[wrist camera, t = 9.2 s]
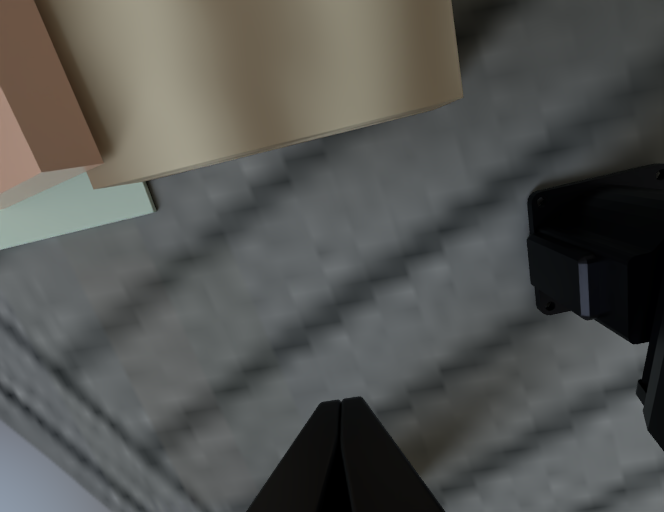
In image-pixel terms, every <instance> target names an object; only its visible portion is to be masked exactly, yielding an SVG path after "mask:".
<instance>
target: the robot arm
mask: <svg viewBox="0 0 664 512" xmlns="http://www.w3.org/2000/svg"><path fill="white" fill-rule="evenodd" d="M658 171H659V172H660V174H659V176H658V178H657V179H656V173H657V172H658ZM540 197H542V198H543V203H542V204H541V205H539V206H538V205H537V200H538V199H539V198H540ZM527 205H528V217H529V228H530V235H529V237H528V239H527V247H528V258H529V269H530V280H531V284H532V285H533V286H534V287H535V296H536V306H537V308H538V309H539V310H540V311H541V312H542V313H543V314H546V315H553V314H558V313H562V312H567V311H572V312H574V313H575V314H577V315H578V316H580V317H581V318H583V319H585V320H592V319H594V320H596V321H597V322H599V323H600V324H602V325H604V326H605V327H607V328H608V329H610V330H611V331H613V332H615V333H616V334H618V335H619V336H621V337H622V338H624V339H626V340H627V341H629V342H630V343H632V344H640V343H645V342H649V346H648V351H647V356H646V361H645V366H644V371H643V376H642V379H640V380H638V383H637V389H636V395H637V396H638V398H639V399H640V401H641V402H642V404H643V405H644V408H643V414H644V418H645V422H646V426H647V430H648V431H649V433H650V434H651V435H652V437H653V438H654V439H655V440H656V442H657V443H658V444H659V446H660V447H661V448H662V450H663V451H664V164H651V165H647V166H642V167H638V168H634V169H629V170H625V171H621V172H616V173H612V174H608V175H603V176H599V177H595V178H590V179H586V180H582V181H577V182H573V183H569V184H564V185H560V186H556V187H551V188H547V189H543V190H538V191H535V192H533V193H532V194H531V195H530V196H529V198H528V202H527ZM548 302H551V304H550V306H549V307H546V308H545V306H546V304H547V303H548ZM246 512H445V510H444V509H443V508H442V506H441V505H440V503H439V502H438V501H437V499H436V498H435V497H434V495H433V494H432V492H431V491H430V490H429V488H428V487H427V486H426V484H425V483H424V481H423V480H422V479H421V477H420V476H419V475H418V473H417V472H416V470H415V469H414V468H413V466H412V465H411V464H410V462H409V461H408V459H407V458H406V457H405V455H404V454H403V453H402V451H401V450H400V448H399V447H398V446H397V444H396V443H395V442H394V440H393V439H392V437H391V436H390V435H389V433H388V432H387V431H386V429H385V428H384V426H383V425H382V424H381V422H380V421H379V420H378V418H377V417H376V415H375V414H374V413H373V411H372V410H371V409H370V407H369V406H368V404H367V403H366V402H365V400H364V399H363V398H362V397H352V398H346V399H343V400H342V402H341V401H340V400H332V401H325V402H321V403H320V404H319V405H318V407H317V408H316V410H315V411H314V413H313V414H312V416H311V417H310V418H309V420H308V421H307V423H306V424H305V426H304V427H303V429H302V430H301V432H300V433H299V435H298V436H297V438H296V439H295V441H294V442H293V443H292V445H291V446H290V448H289V449H288V451H287V452H286V454H285V455H284V457H283V458H282V460H281V461H280V463H279V464H278V466H277V467H276V468H275V470H274V471H273V473H272V474H271V476H270V477H269V479H268V480H267V482H266V483H265V485H264V486H263V488H262V489H261V491H260V492H259V493H258V495H257V496H256V498H255V499H254V501H253V502H252V504H251V505H250V507H249V508H248V510H247V511H246Z"/></svg>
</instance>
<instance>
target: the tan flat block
mask: <svg viewBox="0 0 664 512" xmlns="http://www.w3.org/2000/svg"><path fill="white" fill-rule="evenodd" d="M34 2H35V4H36V6H37V9H38V11H39V13H40V16H41V18H42V20H43V23H44V25H45V27H46V30H47V32H48V34H49V37H50V39H51V41H52V44H53V46H54V48H55V51H56V53H57V55H58V58H59V60H60V62H61V65H62V67H63V69H64V72H65V74H66V76H67V79H68V81H69V83H70V85H71V88H72V90H73V92H74V95H75V97H76V99H77V102H78V104H79V106H80V109H81V111H82V113H83V116H84V118H85V120H86V123H87V125H88V127H89V130H90V132H91V134H92V137H93V139H94V141H95V144H96V146H97V148H98V151H99V153H100V155H101V158H102V160H103V162H104V163H103V164H101V165H99V166H97V167H95V168H93V169H90V170H88V171H86V172H87V175H88V177H89V180H90V182H91V185H92V187H93V190H94V189H100V188H107V187H113V186H119V185H126V184H132V183H139V182H145V181H149V180H153V179H157V178H161V177H165V176H169V175H173V174H177V173H181V172H185V171H189V170H193V169H198V168H202V167H206V166H210V165H214V164H218V163H222V162H226V161H230V160H234V159H238V158H242V157H246V156H250V155H254V154H258V153H262V152H266V151H270V150H274V149H278V148H282V147H286V146H290V145H294V144H298V143H302V142H306V141H310V140H314V139H318V138H322V137H327V136H331V135H335V134H339V133H343V132H347V131H351V130H355V129H359V128H363V127H367V126H371V125H375V124H379V123H383V122H387V121H391V120H395V119H399V118H403V117H407V116H411V115H415V114H419V113H423V112H427V111H431V110H434V109H437V108H439V107H442V106H444V105H447V104H449V103H451V102H454V101H456V100H459V99H461V98H463V89H462V82H461V74H460V66H459V58H458V50H457V42H456V34H455V26H454V18H453V10H452V2H451V0H34Z"/></svg>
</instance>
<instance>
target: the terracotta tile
mask: <svg viewBox="0 0 664 512" xmlns="http://www.w3.org/2000/svg"><path fill="white" fill-rule="evenodd" d="M103 163H104V162H103V160H102V158H101V155H100V153H99V151H98V148H97V146H96V144H95V141H94V139H93V137H92V134H91V132H90V130H89V127H88V125H87V123H86V120H85V118H84V116H83V113H82V111H81V109H80V106H79V104H78V102H77V99H76V97H75V95H74V92H73V90H72V88H71V85H70V83H69V81H68V79H67V76H66V74H65V72H64V69H63V67H62V65H61V62H60V60H59V58H58V55H57V53H56V51H55V48H54V46H53V44H52V41H51V39H50V37H49V34H48V32H47V30H46V27H45V25H44V23H43V20H42V18H41V16H40V13H39V11H38V9H37V6H36V4H35V2H34V0H0V210H1V209H5V208H7V207H9V206H12V205H14V204H16V203H18V202H20V201H23V200H25V199H27V198H29V197H31V196H33V195H36V194H38V193H40V192H42V191H44V190H47V189H49V188H51V187H53V186H55V185H58V184H60V183H62V182H64V181H66V180H68V179H71V178H73V177H75V176H77V175H79V174H82V173H84V172H86V171H88V170H90V169H93V168H95V167H97V166H99V165H101V164H103Z"/></svg>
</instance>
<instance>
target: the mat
mask: <svg viewBox="0 0 664 512" xmlns="http://www.w3.org/2000/svg"><path fill="white" fill-rule="evenodd" d="M154 212H157V211H156V208H155V206H154V203H153V200H152V197H151V195H150V192H149V189H148V187H147V184H146V181H145V182H139V183H132V184H126V185H119V186H113V187H107V188H100V189H94V190H93V187H92V185H91V182H90V180H89V177H88V175H87V172H84V173H82V174H79V175H77V176H75V177H73V178H71V179H68V180H66V181H64V182H62V183H60V184H58V185H55V186H53V187H51V188H49V189H47V190H44V191H42V192H40V193H38V194H36V195H33V196H31V197H29V198H27V199H25V200H23V201H20V202H18V203H16V204H14V205H12V206H9V207H7V208H5V209H1V210H0V250H1V249H5V248H9V247H13V246H18V245H22V244H26V243H30V242H34V241H38V240H42V239H46V238H51V237H55V236H59V235H63V234H67V233H71V232H75V231H80V230H84V229H88V228H92V227H96V226H100V225H104V224H108V223H113V222H117V221H121V220H125V219H129V218H133V217H137V216H141V215H146V214H150V213H154Z"/></svg>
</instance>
